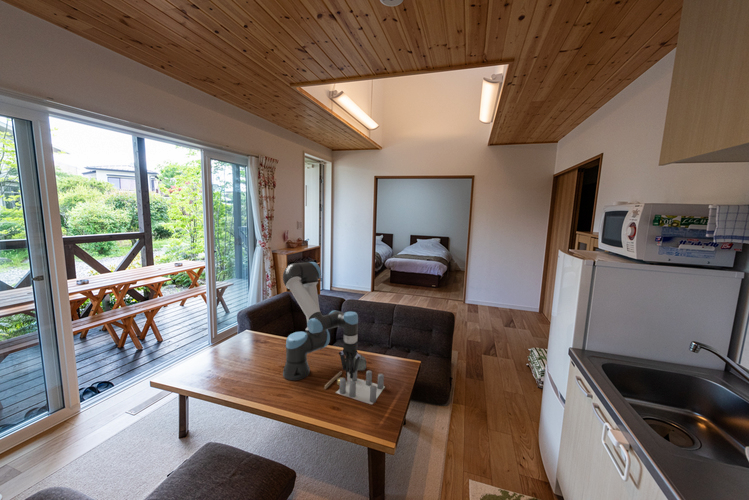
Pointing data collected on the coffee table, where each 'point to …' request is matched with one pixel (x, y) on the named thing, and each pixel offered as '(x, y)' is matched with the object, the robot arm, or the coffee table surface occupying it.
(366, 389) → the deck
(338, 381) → the brass dome
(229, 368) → the coffee table surface
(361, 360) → the stone
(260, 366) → the coffee table surface
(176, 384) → the coffee table surface
